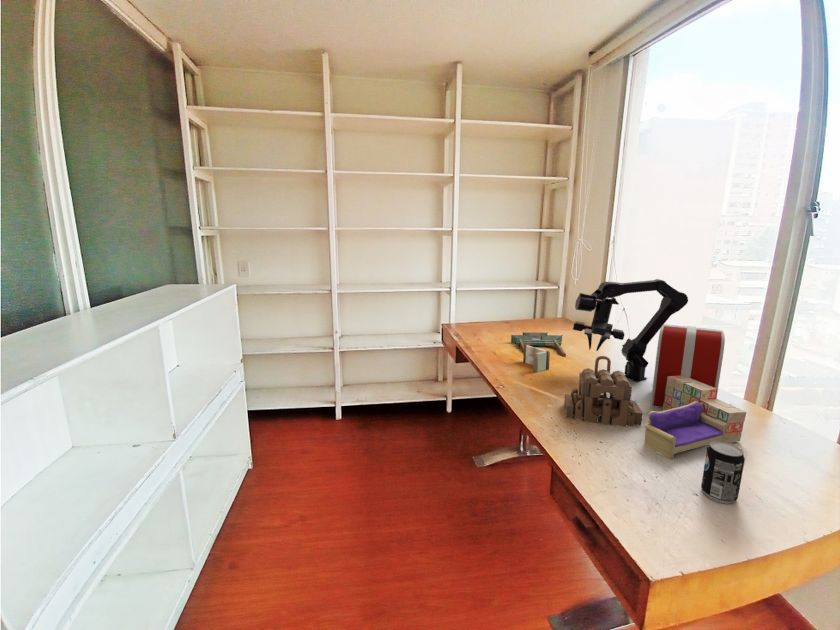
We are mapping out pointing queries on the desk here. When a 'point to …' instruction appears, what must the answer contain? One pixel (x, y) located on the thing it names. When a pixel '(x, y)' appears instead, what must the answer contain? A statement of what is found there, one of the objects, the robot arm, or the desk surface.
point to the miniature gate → (538, 340)
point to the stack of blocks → (704, 404)
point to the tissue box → (687, 357)
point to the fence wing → (539, 361)
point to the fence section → (529, 355)
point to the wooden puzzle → (603, 398)
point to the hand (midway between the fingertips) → (593, 350)
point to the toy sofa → (682, 430)
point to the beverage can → (722, 472)
